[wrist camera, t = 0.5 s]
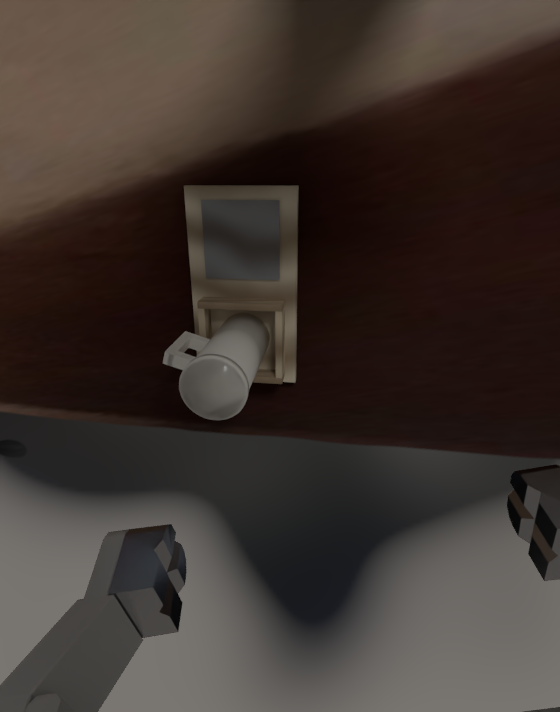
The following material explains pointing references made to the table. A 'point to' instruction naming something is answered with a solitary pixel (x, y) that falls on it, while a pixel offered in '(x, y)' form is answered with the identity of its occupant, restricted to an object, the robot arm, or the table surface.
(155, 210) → the table surface
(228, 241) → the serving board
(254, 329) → the tall white canister
